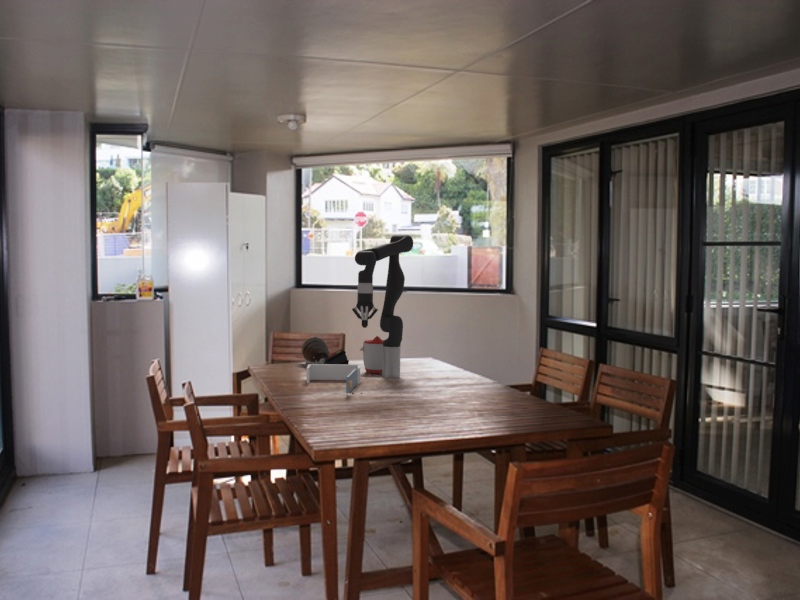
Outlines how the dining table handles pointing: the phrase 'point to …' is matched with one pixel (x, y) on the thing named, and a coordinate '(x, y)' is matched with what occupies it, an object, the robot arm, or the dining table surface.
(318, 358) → the clay pot
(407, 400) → the dining table surface
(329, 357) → the black ridged battery pack
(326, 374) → the case
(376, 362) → the citrus juicer
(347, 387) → the door
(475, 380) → the dining table surface
